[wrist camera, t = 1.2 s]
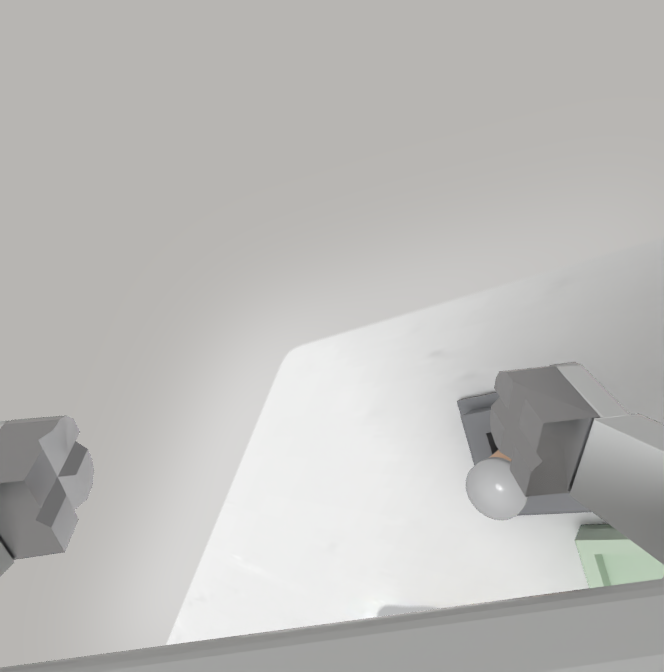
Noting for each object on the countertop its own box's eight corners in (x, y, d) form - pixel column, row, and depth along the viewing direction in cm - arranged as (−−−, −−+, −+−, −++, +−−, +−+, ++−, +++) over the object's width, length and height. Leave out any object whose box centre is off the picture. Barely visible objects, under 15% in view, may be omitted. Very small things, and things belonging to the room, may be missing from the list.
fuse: (549, 424, 44) (515, 457, 34) (563, 471, 43) (533, 518, 34) (503, 431, 46) (459, 464, 37) (516, 475, 46) (474, 521, 36)
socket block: (582, 374, 43) (575, 380, 40) (624, 506, 42) (620, 523, 38) (460, 399, 50) (445, 406, 47) (492, 513, 48) (480, 528, 45)
